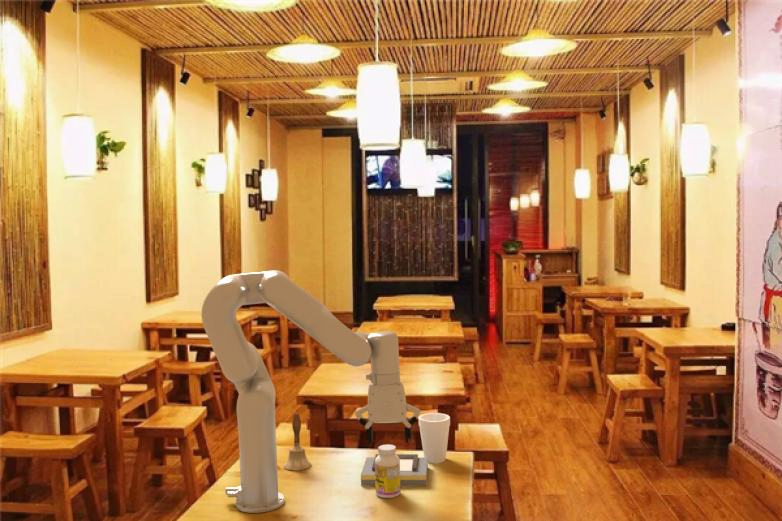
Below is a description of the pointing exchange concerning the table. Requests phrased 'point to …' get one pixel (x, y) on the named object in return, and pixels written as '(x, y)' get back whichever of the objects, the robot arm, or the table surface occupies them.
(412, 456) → the bay rails
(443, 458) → the foam cup
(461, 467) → the table surface
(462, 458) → the table surface
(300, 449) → the hand bell
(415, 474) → the loading dock
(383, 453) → the supplement bottle
